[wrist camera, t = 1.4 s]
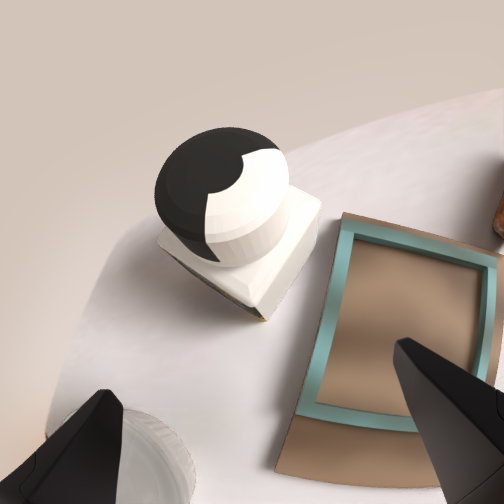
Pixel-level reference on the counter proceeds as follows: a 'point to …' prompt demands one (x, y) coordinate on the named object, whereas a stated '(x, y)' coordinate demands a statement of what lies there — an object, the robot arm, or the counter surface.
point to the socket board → (389, 350)
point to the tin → (499, 219)
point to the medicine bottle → (236, 217)
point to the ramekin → (152, 463)
